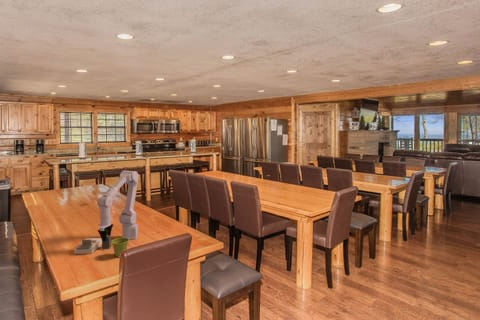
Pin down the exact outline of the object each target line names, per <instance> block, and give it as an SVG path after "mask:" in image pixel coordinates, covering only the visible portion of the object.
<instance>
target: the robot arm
mask: <svg viewBox="0 0 480 320" xmlns="http://www.w3.org/2000/svg"><path fill="white" fill-rule="evenodd" d="M139 176H140V174H139V173H138V171H135V170H134V171H133V170H124V169H123V170H122V171H121V172H120V174H119V178H118V179H117V181H116V182H115V183H114V185H113V186H111V187H109V188H108V190H106V192H105V193H104V194H103V196H100V197H99V198H98V199H97V202H96V204H97V207H98V209H99V216H100V217H99V218H100V222H99V223H98V224H97V225H98V226H99V229H98V230H97V233H98V234H99V236H100V238H101V239H102V241H106V239H107V235H108V236H109V235H111V234H112V229H113V227H114V224H113V223H112V219H111V217H112V216H111V206H112V205H113V201H114V199H115V198H116V196H117V195H118V194H119V190H120V189H121V188H122V186H123V185H124V184H125V183H126V184H127V187H128V188H127V193H126V199H125V205H124V209H123V210H121V212H120V216H119V218H118V221H119V223H120V224H121V229H122V230H121V231H122V237H121V238H128V239H129V240H135V239H137V237H138V236H139V225H138V224H137V223H136V222H137V212H136V211H135V210H134V209H135V201H136V196H137V190H138V189H137V188H138V183H139V178H140V177H139Z"/></svg>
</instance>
